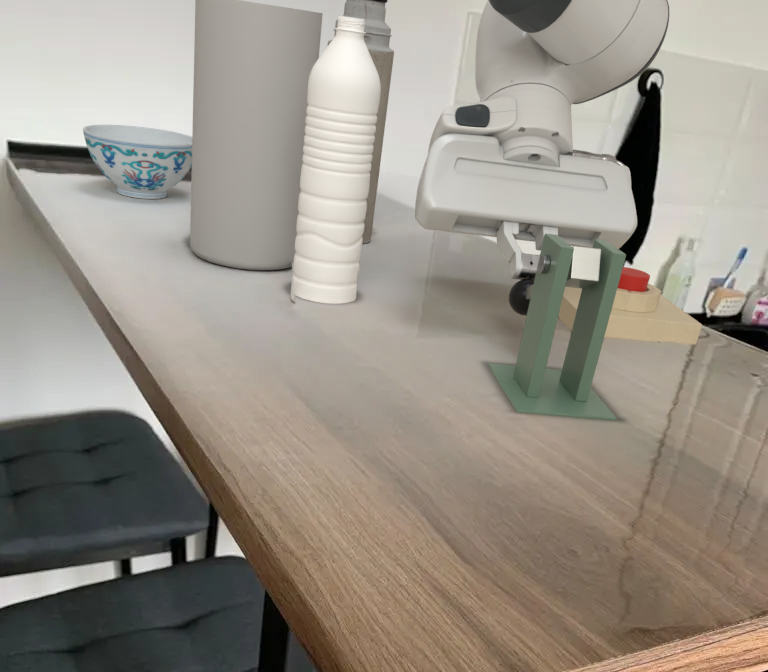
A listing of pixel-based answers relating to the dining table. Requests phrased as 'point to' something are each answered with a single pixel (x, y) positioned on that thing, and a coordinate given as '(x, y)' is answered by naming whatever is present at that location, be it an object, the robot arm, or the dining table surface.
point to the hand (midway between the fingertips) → (528, 277)
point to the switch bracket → (573, 383)
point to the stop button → (633, 280)
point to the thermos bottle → (370, 6)
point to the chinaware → (139, 158)
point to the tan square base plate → (639, 316)
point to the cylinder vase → (249, 130)
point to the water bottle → (336, 167)
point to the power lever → (579, 276)
